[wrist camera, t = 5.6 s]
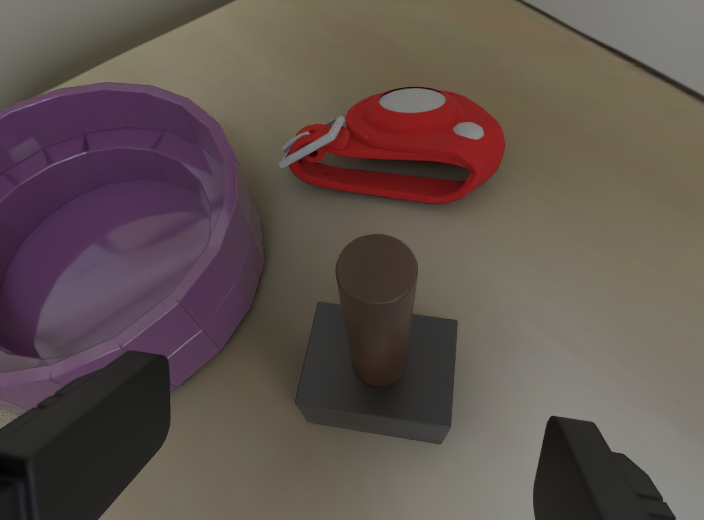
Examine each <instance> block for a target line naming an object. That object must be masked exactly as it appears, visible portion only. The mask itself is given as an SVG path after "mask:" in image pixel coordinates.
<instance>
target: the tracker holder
mask: <svg viewBox="0 0 704 520" xmlns="http://www.w3.org/2000/svg"><path fill="white" fill-rule="evenodd" d="M344 122H345V118H344V117H343V116H342V115H341V116H339V117H337V118H335V119H334V120H332V121H330V122H328V123H327V124H325V125H322V124H314V125H310V126H306V127H304V128H303V129H302V130H300V131H299V132H298V133H297V134H296V136H295V137H294V138H292V139H291V140H289V141H288V142H287V143H286V144H285V145H283V146H282V147H281V151H282V152H286V151H287V152H286V153H285V154H284V156H283V157H282V159H281V160H280V161H279V163H278V165H279V167H280V168H285V167H286V166H288V165H289V167H290V169H291V170H292V172H293V173H294V174H295V175H296V176H297V177H298V178H300V179H301V180H303V181H305V182H307V183H309V184H313V185H317V186H321V187H326V188H330V189H335V190H341V191H347V192H354V193H361V194H368V195H375V196H382V197H389V198H396V199H404V200H411V201H418V202H425V203H433V204H440V203H449V202H452V201H455V200H458V199H460V198H462V197H463V196H465V195H466V194H468V193H469V192H471V191H473V190H474V189H476V188H477V187H479V186H480V185H482V184H483V183H485V182H486V181H487V180H488V179H489V178H490V177H491V176H492V175H493V174H494V173H495V172H496V170H497V169H498V167H499V165H500V163H501V160H502V157H503V154H504V148H505V141H504V134H503V131H502V129H501V126H500V125H499V123H498V122H497V121H496V120H495V119H494V118H493V117H492V116H491V115H490V114H489V113H487V112H486V111H485V110H484V109H483V108H482V107H480V106H479V105H477V104H476V103H474V102H473V101H471V100H469V99H467V98H466V97H464V96H461V95H459V94H456V93H452V92H448V91H443V90H435V89H431V88H425V87H405V88H398V89H394V90H390V91H387V92H384V93H380V94H377V95H373V96H370V97H368V98H366V99H363V100H361V101H360V102H358V103H357V104H355V105H354V106H353V107H352V108H351V109H350V110H349V111H348V113H347V115H346V128H345V127H343V126H342V125H343V123H344ZM325 151H326V152H328V153H331V154H334V155H337V156H342V157H351V158H363V159H389V160H416V161H437V162H442V163H448V164H453V165H458V166H461V167H464V168H466V169H468V170H470V174H469V177H468V179H467V180H466V181H450V180H441V179H432V178H423V177H415V176H406V175H397V174H389V173H380V172H371V171H363V170H355V169H345V168H337V167H333V166H329V165H325V164H320V163H317V162H319V161H321V160H322V159H323V158H324V156H325Z"/></svg>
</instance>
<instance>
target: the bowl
mask: <svg viewBox="0 0 704 520" xmlns="http://www.w3.org/2000/svg"><path fill="white" fill-rule="evenodd" d="M263 266H264V248H263V231H262V223H261V220H260V217H259V215H258V212H257V209H256V207H255V204H254V202H253V199H252V197H251V194H250V191H249V189H248V186H247V183H246V181H245V178H244V176H243V173H242V170H241V168H240V165H239V163H238V160H237V157H236V155H235V153H234V151H233V149H232V147H231V145H230V143H229V141H228V139H227V137H226V135H225V133H224V131H223V129H222V127H221V125H220V124H219V123H218V122H217V121H216V120H215V119H214V118H212V117H211V116H210V115H209V114H207V113H206V112H205V111H204V110H203V109H201V108H200V107H199V106H198V105H196V104H195V103H194V102H193V101H192V100H190V99H188V98H186V97H183V96H180V95H177V94H174V93H172V92H169V91H166V90H163V89H160V88H157V87H155V86H151V85H140V84H126V83H112V82H107V83H106V82H104V83H97V84H90V85H83V86H76V87H69V88H62V89H58V90H54V91H51V92H48V93H45V94H42V95H39V96H36V97H33V98H30V99H27V100H24V101H22V102H19V103H16V104H13V105H10V106H9V107H6V108H4V109H2V110H0V409H1V410H4V411H7V412H10V413H13V414H16V415H22V414H24V413H25V412H27V411H28V410H30V409H31V408H32V407H34V408H36V407H37V404H38V403H40V402H41V401H43V400H44V399H46V398H47V397H49V396H50V395H51V396H54V394H55V392H56V391H58V390H59V389H61V388H62V387H64V386H65V385H67V384H68V383H70V382H71V381H73V380H74V379H76V378H79V377H81V376H84V375H86V374H89V373H91V372H94V371H96V370H99V369H102V368H104V367H105V366H107V365H108V364H110V363H111V362H112V361H114V360H115V359H117V358H118V357H120V356H121V355H122V354H124V353H125V352H127V351H130V350H134V351H141V352H147V353H154V354H160V355H164V356H166V357H167V359H168V361H169V371H170V391H172V390H174V389H176V387H179V386H180V385H181V384H182V383H183V382H184V381H186V380H187V379H188V378H189V377H190V376H192V375H193V374H194V373H195V372H196V371H197V370H199V369H200V368H201V367H202V366H203V365H204V364H206V363H207V362H208V361H209V360H210V359H212V358H213V357H214V356H215V355H216V354H217V353H219V352H220V350H222V349H223V347H224V346H225V344H226V343H227V341H228V340H229V338H230V337H231V335H232V334H233V332H234V331H235V329H236V328H237V327H238V325H239V324H240V322H241V321H242V319H243V318H244V316H245V315H246V313H247V312H248V310H249V309H250V306H251V305H252V302H253V298H254V295H255V292H256V289H257V285H258V282H259V279H260V276H261V272H262V269H263Z"/></svg>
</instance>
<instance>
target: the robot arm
mask: <svg viewBox="0 0 704 520" xmlns="http://www.w3.org/2000/svg"><path fill="white" fill-rule="evenodd" d="M169 426H170V371H169V361H168V359H167V357H166V356H164V355H160V354H154V353H147V352H141V351H134V350H130V351H127V352H125V353H124V354H122V355H121V356H120V357H118V358H117V359H115V360H114V361H112V362H111V363H110V364H108V365H107V366H105V367H104V368H102V369H99V370H96V371H94V372H91V373H89V374H86V375H84V376H81V377H79V378H76V379H74V380H73V381H71V382H70V383H68V384H67V385H65V386H64V387H62V388H61V389H59V390H58V391H56V392H55V394H54V396H51V395H50V396H49V397H47V398H46V399H44V400H43V401H41V402H40V403H38V404H37V407H36V408H34V407H32V408H31V409H30V410H28V411H27V412H25V413H24V414H22V415H21V416H19V417H18V418H16V419H15V420H13V421H12V422H10V423H9V424H7V425H6V426H4V427H3V428H1V429H0V520H98V519H99V518H100V517H101V515H102V514H103V513H104V512H105V511H106V510H107V509H108V507H109V506H110V505H111V504H112V503H113V502H114V501H115V499H116V498H117V497H118V496H119V495H120V494H121V493H122V491H123V490H124V489H125V488H126V487H127V486H128V485H129V483H130V482H131V481H132V480H133V479H134V478H135V477H136V475H137V474H138V473H139V472H140V471H141V470H142V469H143V467H144V466H145V465H146V464H147V463H148V462H149V461H150V459H151V458H152V457H153V456H154V455H155V454H156V453H157V451H158V450H159V449H160V448H161V446H162V445H163V443H164V441H165V439H166V437H167V434H168V431H169ZM533 507H534V515H535V520H676V517H675V516H674V514H673V513H672V511H671V510H670V508H669V506H668V505H667V503H666V502H663V497H662V496H661V494H660V493H659V491H658V490H657V488H656V487H655V485H654V483H653V482H652V480H651V479H650V477H649V476H648V475H647V474H646V473H645V472H644V471H643V470H642V469H641V468H639V467H638V466H637V465H636V464H635V463H634V462H632V461H631V460H630V459H629V458H628V457H627V456H625V455H624V454H621V453H615V452H611V450H610V448H609V446H608V445H607V443H606V441H605V440H604V438H603V436H602V434H601V433H600V431H599V429H598V428H597V426H596V425H595V423H593V422H590V421H583V420H577V419H570V418H564V417H557V416H551V417H550V418H549V420H548V422H547V425H546V430H545V434H544V439H543V444H542V449H541V453H540V458H539V463H538V467H537V472H536V477H535V482H534V489H533Z"/></svg>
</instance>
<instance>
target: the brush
mask: <svg viewBox="0 0 704 520" xmlns="http://www.w3.org/2000/svg"><path fill="white" fill-rule="evenodd" d="M417 275H418V266H417V261H416V258H415V256H414V254H413V253H412V251H411V250H410V249H409V247H408V246H407V245H406V244H404V243H403V242H402V241H400V240H398V239H397V238H394V237H392V236H388V235H383V234H371V235H366V236H362V237H360V238H357V239H355V240H354V241H352V242H351V243H349V244H348V245H347V246H346V247H345V248H344V249H343V251H342V252H341V254H340V255H339V257H338V260H337V263H336V278H337V284H338V289H339V295H340V300H341V305H338V304H330V303H323V302H318V304H317V308H316V312H315V317H314V321H313V326H312V330H311V334H310V339H309V343H308V347H307V352H306V356H305V361H304V365H303V369H302V374H301V378H300V382H299V387H298V391H297V396H296V400H295V403H296V405H297V406H298V408H299V409H300V411H301V412H302V414H303V416H304V417H305V419H306V420H307V422H310V423H316V424H322V425H328V426H334V427H340V428H346V429H352V430H357V431H363V432H369V433H375V434H381V435H387V436H393V437H399V438H405V439H411V440H417V441H423V442H429V443H435V444H441V443H442V442H443V440H444V438H445V437H446V435H447V433H448V431H449V430H450V428H451V419H452V403H453V388H454V372H455V356H456V341H457V325H458V321H457V320H452V319H444V318H437V317H429V316H422V315H414V314H413V307H414V299H415V291H416V283H417Z"/></svg>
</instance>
